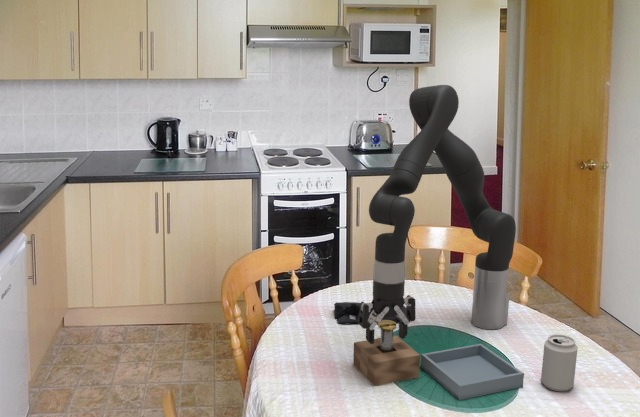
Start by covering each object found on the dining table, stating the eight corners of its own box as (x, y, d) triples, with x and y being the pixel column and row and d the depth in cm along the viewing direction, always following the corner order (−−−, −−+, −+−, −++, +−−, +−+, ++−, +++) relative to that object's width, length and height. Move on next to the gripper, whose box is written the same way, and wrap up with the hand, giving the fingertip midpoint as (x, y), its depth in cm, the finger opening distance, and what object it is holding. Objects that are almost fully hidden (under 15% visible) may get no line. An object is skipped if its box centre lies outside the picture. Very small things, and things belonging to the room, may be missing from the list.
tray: (480, 356, 188) (481, 343, 187) (522, 386, 173) (524, 373, 172) (420, 367, 182) (421, 354, 181) (459, 400, 166) (460, 386, 165)
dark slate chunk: (411, 328, 206) (411, 312, 205) (333, 326, 207) (333, 310, 206) (406, 307, 221) (407, 293, 220) (334, 305, 222) (334, 291, 221)
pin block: (395, 357, 187) (396, 335, 186) (418, 377, 176) (420, 354, 175) (353, 364, 183) (353, 342, 181) (374, 386, 172) (375, 362, 170)
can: (535, 378, 177) (540, 332, 174) (565, 377, 178) (570, 331, 175) (547, 393, 170) (552, 346, 167) (578, 392, 170) (584, 345, 167)
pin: (389, 365, 182) (391, 318, 179) (397, 373, 178) (399, 325, 175) (373, 368, 181) (375, 321, 178) (381, 376, 177) (383, 328, 174)
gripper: (407, 269, 179) (404, 330, 183) (355, 275, 174) (353, 338, 178) (423, 278, 173) (419, 342, 177) (368, 285, 168) (366, 350, 172)
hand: (386, 340), depth 177 cm, fingers open, 8 cm apart
